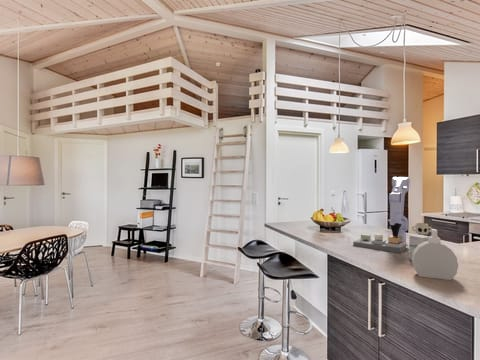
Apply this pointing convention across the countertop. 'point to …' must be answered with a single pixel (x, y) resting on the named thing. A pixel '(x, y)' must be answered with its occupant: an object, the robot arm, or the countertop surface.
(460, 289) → the countertop surface
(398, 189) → the robot arm
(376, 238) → the off-white button
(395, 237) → the brown rectangular block
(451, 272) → the soap bottle
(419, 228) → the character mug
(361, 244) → the switch panel
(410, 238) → the supplement box
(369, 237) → the pale green block
